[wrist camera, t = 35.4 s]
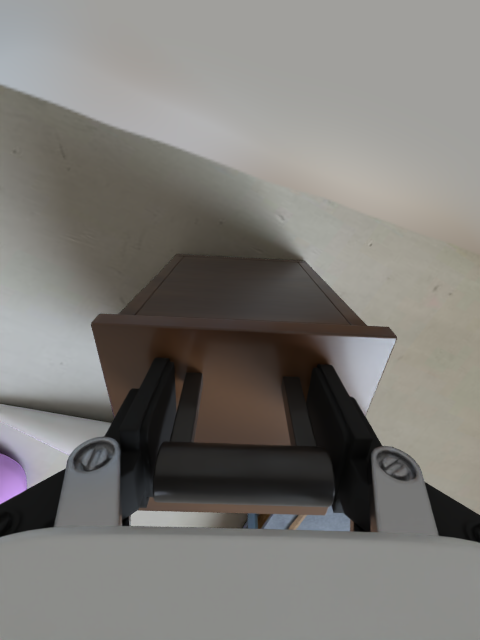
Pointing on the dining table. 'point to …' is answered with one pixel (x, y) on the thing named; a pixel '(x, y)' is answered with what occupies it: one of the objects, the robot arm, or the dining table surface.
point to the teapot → (11, 478)
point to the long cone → (53, 427)
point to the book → (299, 521)
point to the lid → (241, 405)
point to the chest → (241, 292)
